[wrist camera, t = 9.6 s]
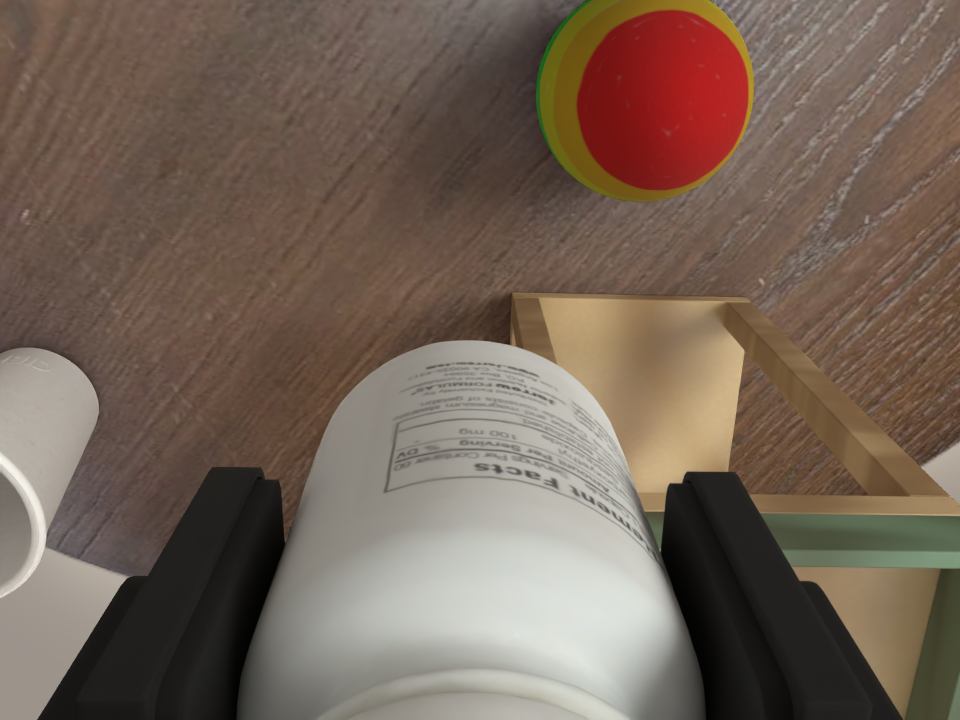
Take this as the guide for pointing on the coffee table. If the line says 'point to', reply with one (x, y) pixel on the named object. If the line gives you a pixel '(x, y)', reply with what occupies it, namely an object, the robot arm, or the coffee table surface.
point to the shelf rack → (791, 518)
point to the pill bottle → (470, 559)
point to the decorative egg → (644, 95)
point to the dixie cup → (37, 451)
